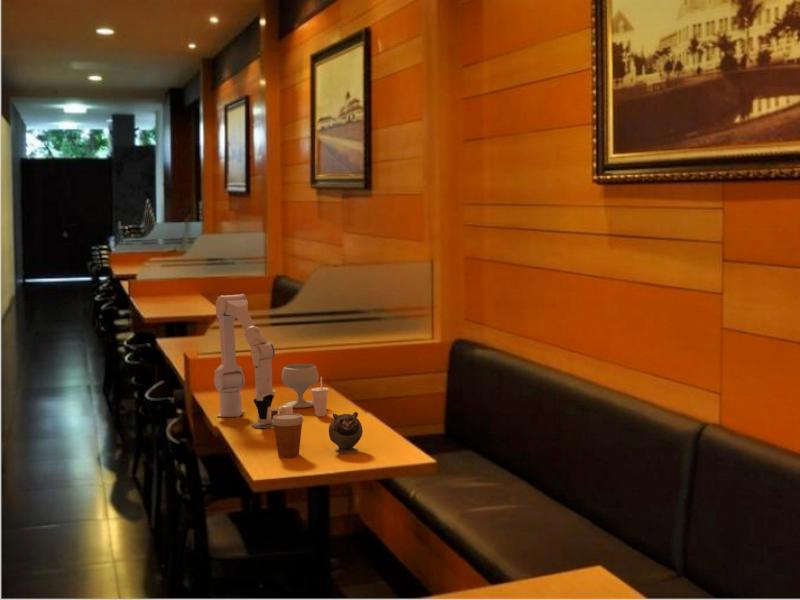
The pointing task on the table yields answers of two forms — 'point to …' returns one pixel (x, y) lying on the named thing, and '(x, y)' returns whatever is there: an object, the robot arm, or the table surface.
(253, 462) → the table surface
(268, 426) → the slate coaster
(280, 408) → the cream small rounded lump
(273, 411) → the walnut block
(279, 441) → the disposable coffee cup
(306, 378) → the chalice
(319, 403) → the smoothie
